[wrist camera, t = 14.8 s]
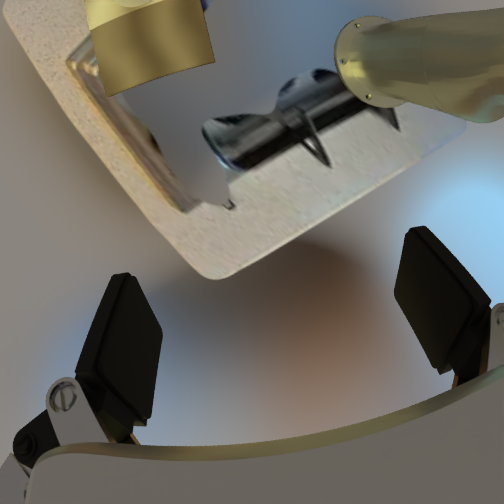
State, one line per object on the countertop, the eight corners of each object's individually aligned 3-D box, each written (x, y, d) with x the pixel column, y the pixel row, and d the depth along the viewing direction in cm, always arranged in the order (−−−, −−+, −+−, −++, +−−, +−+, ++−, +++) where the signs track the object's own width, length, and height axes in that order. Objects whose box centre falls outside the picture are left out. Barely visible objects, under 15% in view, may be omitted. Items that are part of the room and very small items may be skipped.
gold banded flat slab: (184, -65, 16) (182, -70, 14) (215, 62, 27) (214, 61, 26) (85, -28, 16) (80, -31, 15) (111, 96, 28) (106, 97, 26)
